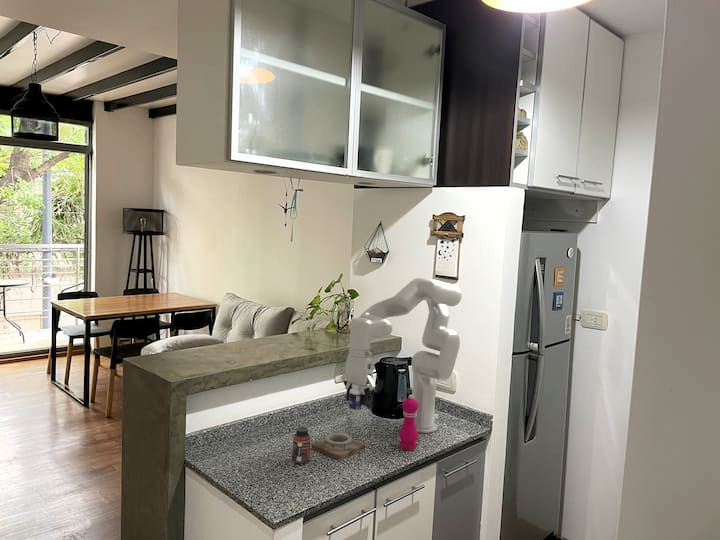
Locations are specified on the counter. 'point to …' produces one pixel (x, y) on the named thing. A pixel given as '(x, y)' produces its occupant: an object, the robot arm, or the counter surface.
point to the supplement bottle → (301, 446)
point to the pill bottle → (355, 399)
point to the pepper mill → (409, 424)
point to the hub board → (338, 452)
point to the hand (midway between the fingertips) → (356, 401)
